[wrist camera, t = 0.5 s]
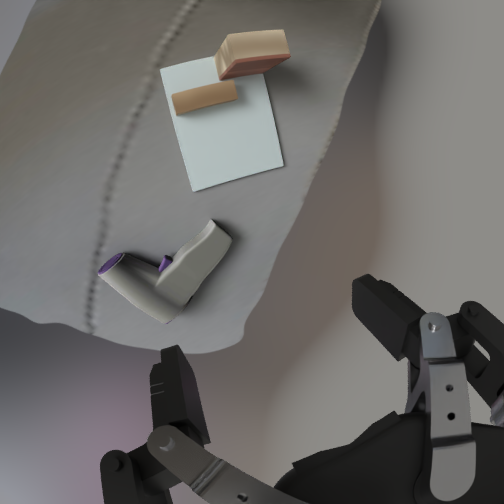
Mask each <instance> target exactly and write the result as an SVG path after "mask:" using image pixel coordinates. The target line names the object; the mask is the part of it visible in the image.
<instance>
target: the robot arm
mask: <svg viewBox="0 0 504 504" xmlns="http://www.w3.org/2000/svg"><path fill="white" fill-rule="evenodd" d="M352 309H353V312H354V314H355V316H356V317H357V318H358V319H359V320H360V321H361V322H362V323H363V325H364V326H365V327H366V328H367V329H368V330H369V331H370V332H371V333H372V334H373V335H374V336H375V337H376V338H377V339H378V341H379V342H381V344H382V345H383V346H384V347H385V348H386V349H387V350H388V351H389V352H390V353H391V355H392V356H393V357H394V358H395V359H396V360H397V361H400V360H401V359H403V358H404V357H407V358H408V398H407V403H406V408H405V413H404V414H400V415H397V413H396V412H395V411H393V412H391V413H390V414H388V415H386V416H385V417H383V418H382V419H380V420H378V421H377V422H375V423H373V424H372V425H371V426H370V427H369V428H368V429H366V430H365V431H364V432H363V433H362V434H361V435H360V436H359V437H358V438H357V439H355V440H354V441H353V442H352V443H350V444H348V445H345V446H341V447H337V448H333V449H329V450H324V451H320V452H317V453H315V454H313V455H311V456H308V457H306V458H303V459H301V460H299V461H296V462H293V463H292V464H293V467H294V468H293V469H291V470H290V471H289V472H287V473H286V474H285V475H284V476H283V477H282V478H281V479H280V480H279V481H278V482H277V483H276V485H275V486H274V488H273V487H271V486H269V485H267V484H265V483H263V482H261V481H259V480H257V479H256V478H254V477H252V476H250V475H248V474H246V473H245V472H243V471H241V470H240V469H238V468H236V467H235V466H233V465H231V464H230V463H228V462H226V461H224V460H222V459H220V458H217V457H216V456H215V455H213V454H211V453H210V452H208V451H207V450H206V449H205V448H204V444H209V443H211V442H210V438H209V434H208V430H207V426H206V422H205V418H204V414H203V410H202V405H201V401H200V397H199V392H198V387H197V383H196V378H195V375H194V372H193V370H192V368H191V366H190V364H189V362H188V361H187V359H186V357H185V356H184V354H183V352H182V350H181V348H180V347H179V345H175V346H172V347H168V348H165V349H162V350H161V363H158V364H154V365H153V368H152V370H151V373H150V386H151V388H150V392H151V406H152V419H153V431H152V432H151V433H150V435H149V437H148V439H147V442H146V443H145V444H144V445H142V446H140V447H138V448H136V449H135V450H132V451H130V452H129V453H124V452H123V451H120V450H112V451H109V452H107V453H106V454H105V455H104V456H103V458H102V459H101V462H100V472H101V482H102V490H103V497H104V504H173V502H172V499H171V495H170V491H169V488H171V487H173V486H175V485H177V484H178V483H181V482H184V483H185V484H186V485H188V486H189V487H190V488H191V489H192V490H193V492H195V493H196V494H197V495H198V496H200V497H201V498H202V499H204V500H205V501H207V502H208V503H209V504H504V324H503V323H502V322H500V320H498V319H497V318H496V317H495V316H494V315H493V314H491V313H490V312H489V311H488V310H487V309H486V308H484V307H483V306H482V305H481V304H479V303H477V302H475V301H467V302H465V303H463V304H462V305H461V308H460V311H459V313H456V314H453V315H450V316H446V317H445V316H444V315H442V314H440V313H436V312H430V313H426V312H425V311H424V310H423V309H421V308H420V307H419V306H418V305H416V304H415V303H414V302H413V301H411V300H410V299H409V298H408V297H407V296H404V294H403V293H402V292H400V291H398V289H397V288H396V287H394V286H393V285H392V284H391V283H388V282H385V281H383V280H379V281H377V280H376V279H375V278H374V277H373V276H371V275H370V274H366V275H363V276H361V277H359V278H357V279H355V280H353V283H352ZM475 340H476V341H477V342H478V343H479V344H480V345H481V346H482V347H483V348H484V349H485V350H486V351H487V352H488V353H489V356H490V361H489V360H488V359H487V358H486V357H485V356H484V355H483V354H482V353H481V352H480V351H479V350H478V349H477V348H476V347H475V346H474V343H475ZM467 381H468V382H469V383H470V384H471V385H472V386H473V388H474V389H475V390H476V391H477V392H478V394H479V395H480V396H481V397H482V398H483V400H484V401H485V402H486V403H487V404H488V405H489V407H490V408H491V417H490V422H491V423H492V424H493V425H488V424H480V423H474V422H471V416H470V404H469V394H468V386H467Z"/></svg>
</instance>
